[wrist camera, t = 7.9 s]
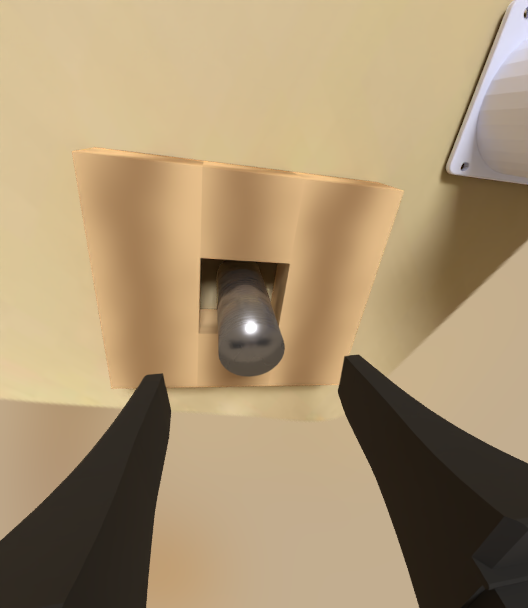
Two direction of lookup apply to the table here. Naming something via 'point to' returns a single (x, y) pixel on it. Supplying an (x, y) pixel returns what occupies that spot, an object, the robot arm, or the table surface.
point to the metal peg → (246, 321)
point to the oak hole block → (230, 246)
